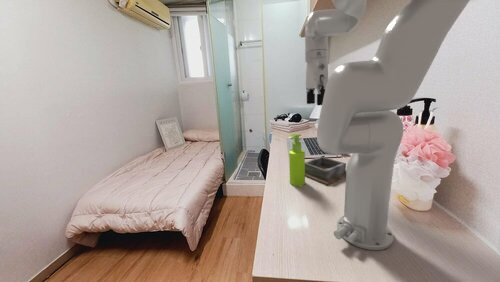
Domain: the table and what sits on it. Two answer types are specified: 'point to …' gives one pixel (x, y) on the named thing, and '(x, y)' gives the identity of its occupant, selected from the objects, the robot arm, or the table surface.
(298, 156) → the soap dispenser
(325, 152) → the robot arm
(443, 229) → the table surface
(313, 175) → the box
